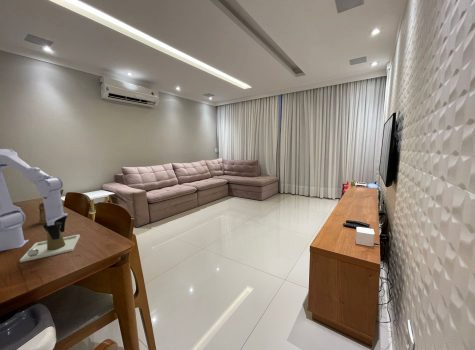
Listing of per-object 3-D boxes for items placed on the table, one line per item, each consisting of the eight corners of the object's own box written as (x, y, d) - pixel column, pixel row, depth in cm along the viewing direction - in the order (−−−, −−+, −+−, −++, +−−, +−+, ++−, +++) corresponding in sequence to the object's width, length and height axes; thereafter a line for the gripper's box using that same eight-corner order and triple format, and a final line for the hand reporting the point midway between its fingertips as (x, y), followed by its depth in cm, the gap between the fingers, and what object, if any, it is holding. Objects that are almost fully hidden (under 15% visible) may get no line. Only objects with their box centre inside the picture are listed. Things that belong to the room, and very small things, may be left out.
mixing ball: (26, 259, 78) (25, 251, 78) (29, 255, 81) (28, 248, 81) (37, 257, 80) (36, 249, 79) (40, 253, 83) (39, 246, 82)
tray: (20, 263, 76) (19, 260, 76) (36, 245, 90) (35, 242, 90) (73, 251, 84) (72, 248, 84) (80, 237, 98) (79, 234, 98)
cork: (54, 251, 84) (49, 226, 82) (43, 249, 86) (38, 225, 84) (68, 244, 90) (65, 221, 88) (58, 242, 91) (54, 220, 90)
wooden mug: (70, 217, 127) (66, 189, 124) (41, 224, 115) (36, 194, 112) (65, 214, 131) (60, 188, 128) (36, 221, 120) (31, 193, 117)
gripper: (60, 208, 81) (66, 239, 83) (69, 200, 94) (73, 227, 96) (37, 211, 78) (43, 244, 80) (49, 202, 90) (54, 231, 92)
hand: (58, 235), depth 87 cm, fingers open, 7 cm apart
